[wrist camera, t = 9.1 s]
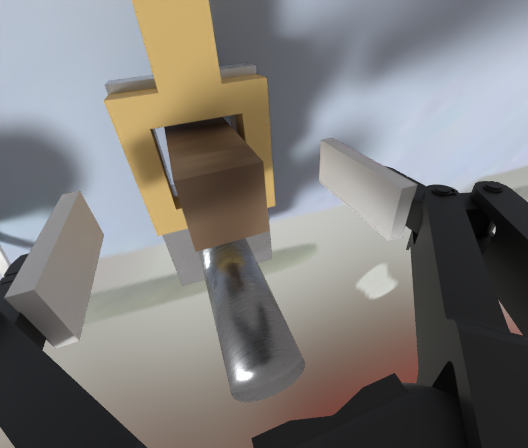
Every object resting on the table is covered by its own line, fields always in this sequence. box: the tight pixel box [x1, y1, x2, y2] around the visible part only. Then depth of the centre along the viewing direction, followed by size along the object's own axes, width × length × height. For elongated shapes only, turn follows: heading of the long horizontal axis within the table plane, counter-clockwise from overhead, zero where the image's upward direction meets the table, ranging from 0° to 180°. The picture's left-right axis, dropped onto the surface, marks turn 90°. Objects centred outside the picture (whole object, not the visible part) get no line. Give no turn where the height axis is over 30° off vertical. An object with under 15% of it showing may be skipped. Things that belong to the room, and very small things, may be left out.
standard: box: [105, 63, 305, 402], centre depth 19 cm, size 18×9×18 cm, turn 5°
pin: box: [164, 117, 269, 252], centre depth 18 cm, size 4×4×14 cm
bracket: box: [104, 0, 275, 236], centre depth 18 cm, size 20×9×8 cm, turn 5°
